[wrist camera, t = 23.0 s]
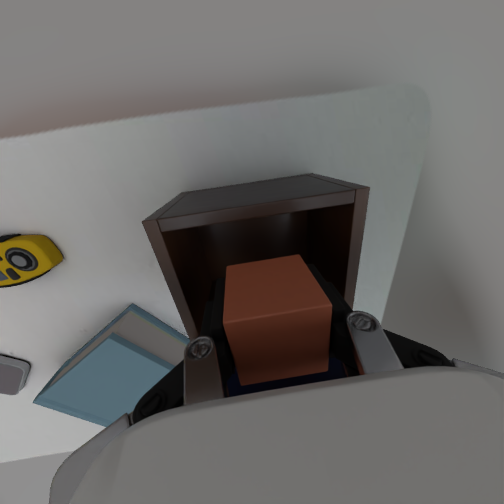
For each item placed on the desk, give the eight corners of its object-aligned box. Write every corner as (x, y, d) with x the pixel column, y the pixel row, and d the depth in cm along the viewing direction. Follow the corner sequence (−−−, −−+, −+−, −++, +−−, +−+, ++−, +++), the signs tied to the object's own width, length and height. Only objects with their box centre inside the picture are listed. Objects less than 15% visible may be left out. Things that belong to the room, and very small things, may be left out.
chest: (181, 192, 18) (141, 221, 10) (312, 173, 18) (370, 187, 11) (207, 283, 23) (193, 349, 15) (311, 267, 23) (350, 324, 15)
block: (226, 265, 11) (222, 323, 8) (299, 253, 12) (333, 304, 8) (238, 319, 13) (240, 386, 10) (301, 308, 14) (328, 371, 10)
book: (252, 378, 32) (255, 414, 28) (186, 417, 36) (179, 454, 32) (132, 303, 24) (108, 338, 19) (62, 365, 27) (28, 406, 23)
